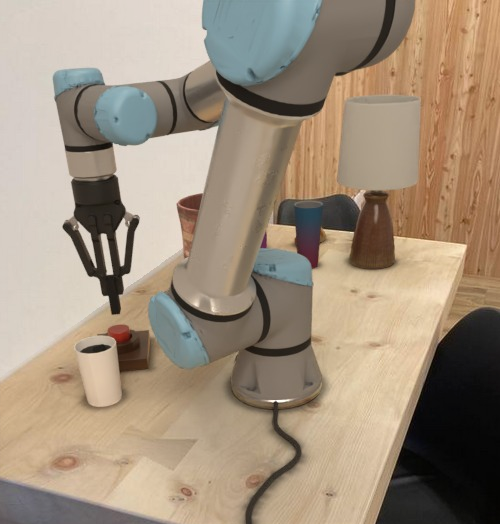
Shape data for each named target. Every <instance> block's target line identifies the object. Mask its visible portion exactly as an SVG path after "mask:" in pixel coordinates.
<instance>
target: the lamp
mask: <svg viewBox="0 0 500 524" xmlns="http://www.w3.org/2000/svg"><path fill="white" fill-rule="evenodd" d="M421 107H422V98H421V97H419V96H416V95H408V94H407V95H406V94H368V95H359V96H352V97H347V98H345V99H344V104H343V114H342V122H341V123H342V124H341V136H340V143H339V144H340V145H339V155H338V166H337V177H336V182H337V184H338V185H339V186H342V187H345V188H348V189H354V190H360V191H365V192H364V193H363V195H362V196H363V198H364V204H363V205H362V207H361V209H360V212H359V214H358V216H357V219H356V222H355V226H354V230H353V234H352V235H353V237H352V239H351V245H350V251H349V263H351V265H353V266H354V267H357V268H361V269H366V270H379V269H385V268H388V267H390V266H391V267H392V266H393V264H394V263H395V260H396V253H395V250H396V248H395V247H396V245H395V236H394V235H395V233H394V225H393V218H392V215H391V211H390V209H389V205H388V203H387V200H388V198H389V197H390V194H389V192H387V191H394V190H402V189H407V188H411V187H413V186H416V185H417V184H418V183H419V170H420V169H419V166H420V141H421V140H420V136H421V132H420V131H421Z"/></svg>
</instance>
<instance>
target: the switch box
mask: <svg viewBox="0 0 500 524" xmlns="http://www.w3.org/2000/svg"><path fill="white" fill-rule="evenodd" d="M100 335H102V336H108V331H107V332H105V333H97V335H96V336H100ZM130 335H131V339H129V340H127V341H124V342H118V343H116V346H117V355H118V363H119V372H124V371H125V372H127V371H137V370H140V371H141V370H149V363H150V352H151V351H150V350H151V333H150V330H149V329H146V330H134V329H130Z"/></svg>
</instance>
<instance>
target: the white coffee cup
mask: <svg viewBox="0 0 500 524" xmlns="http://www.w3.org/2000/svg"><path fill="white" fill-rule="evenodd" d="M73 350H74V354H75V358H76V361H77V366H78V370H79V373H80V377H81V381H82V385H83V390H84V393H85V397H86V402H87V403H88V405H90V406H92V407H97V408H105V407H110V406H113V405H115V404H117V403H119V402H120V401H121V400H122V398H123V391H122V382H121V373H120V372H121V371H119V363H118V355H117V346H116V341H115V339H114V338H112V337H109V336H102V335H100V336H97V335H92V336H87V337H84V338H82V339H80V340H78V341H77V342H76V343H75V344H74V346H73Z"/></svg>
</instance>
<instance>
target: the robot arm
mask: <svg viewBox="0 0 500 524" xmlns="http://www.w3.org/2000/svg"><path fill="white" fill-rule="evenodd" d="M201 7H202V8H201V28H202V29H203V30H205V31H206V35H205V37H204V39H203V43H204V47H205V51H206V54H207V56H208V59H209V60H208V61H206V62H204V63H203V64H201V65H199V66H198V67H196V68H195V69H193V70H192V71H190V72H188V73H186V74H185V75H182V76H181V77H178V78H171V79H163V80H154V81H145V82H136V83H125V84H124V83H123V84H112V85H111V84H110V85H108V84H106V82H105V79H104V76H103V73H102V71H101V70H100V69H99V68H97V67H76V68H65V69H59V70H56V71H55V72H54V73H53V75H52V84H53V93H54V96H53V99H54V102H55V104H56V111H57V115H58V119H59V120H58V121H59V125H60V130H61V135H62V141H63V145H64V153H65V158H66V164H67V168H68V169H67V170H68V175H69V176H70V177H72V179H71V181H70V185H71V190H72V196H73V202H74V209H73V215H72V216H71V217H70V218H69V219H65V220H64V222H63V224H62V226H61V227H62V230H63V231H64V232H65V233H66V234H67V235H68V236H69V237H70V239H71V241H72V243H73V246H74V248H75V250H76V252H77V255H78V257H79V259H80V261H81V263H82V266H83V268H84V271H85V272H86V275H87V276H88V277H89V278H96V279H98V281H99V286H100V292H101V295H102V296H103V297H108V302H109V309H110V313H111V316H114V315H115V316H116V315H121V311H122V306H121V299H120V296H123V295H124V293H125V286H124V280H123V276H125V275H129V274H130V273H131V270H132V263H133V253H134V242H135V232H136V230H137V228H138V226H139V224H140V219H141V217H140V216H139V215H138V214H132V213H131V212H129V211H128V210H127V208H126V206H125V205H124V203H123V202H122V197H121V191H120V182H119V177H118V176H117V175H116V172H117V170H118V169H117V163H116V156H115V150H114V149H115V148H114V145H119V146H121V147H127V146H140V145H143V144H145V143H146V142H147V141H148V140H149V139H155V138H161V137H165V136H170V135H176V134H181V133H188V132H195V131H199V132H200V131H207V130H210V129H212V128H216V127H217V131H216V135H215V140H214V144H213V147H212V148H213V149H212V153H211V157H210V162H209V165H208V170H207V174H206V178H205V184H204V187H203V192H202V193H203V196H202V200H201V205H200V209H199V213H198V218H197V222H196V226H195V231H194V235H193V239H192V244H191V248H190V253H189V257H187V258H185V259H184V258H183V259H182V260H180V261H179V262H178V263H177V264H176V266H175V267H174V269H173V271H172V276H171V281H170V286H169V288H168V289H167V290H165V291H158V292H157V293H155V294H154V295H153V296H151V297H150V299H149V301H148V305H147V314H148V320H149V325H150V328H151V331H152V334H153V336H154V338H155V340H156V342H157V344H158V345H159V347H160V349H161V350H162V352H163V353H164V355H165V356H166V357H167V358H168V360H169V361H170V362H171V363H172V364H174V365H175V366H176V367H178V368H180V369H183V370H186V371H190V370H195V369H197V368H200V367H206V366H209V365H211V364H212V363H214V362H217V361H219V360H221V359H224V358H226V357H228V356H231V355H233V354H235V353H237V354H236V355H235V359H234V362H233V363H234V364H233V365H234V366H233V369H232V373H231V377H230V383H231V391H232V393H233V395H234V396H235V397H236V399H238V400H239V401H240V402H242V403H244V404H246V405H248V406H251V407H255V408H259V409H266V410H273V412H272V413H273V415H272V425H273V428H274V429H275V431H276V432H277V433H278V434H279V436H281V437H282V438H284V439H285V440H287V441H288V442H289V443H291V444H292V445H293V446H294V448H295V451H296V453H295V456H294V457H293V459H291V460H290V461H289V462H287V464H285V465H283V466H282V467H281V468H279V469H278V470H276V471H274V472H273V473H272V474H270V476H269V477H268V478H267V479H265V481H264V482H263V483H262V485H261V486H260V487H259V488H258V490H257V491H256V492H255V493H254V495H253V496H252V497H251V499H250V501H249V503H248V505H247V508H246V511H245V524H253V522H252V515H253V514H252V512H253V509H254V507H255V505H256V504H257V501H258V500H259V499H260V497H261V496H262V495H263V493H264V492H265V491H266V490H267V489H268V488H269V486H270V485H271V484H272V482H274V481H275V480H276V479H277V478H278V477H279V476H281V475H282V474H284V473H285V472H287V471H289V470H290V469H292V468H293V467H294V466H295V465H296V464H297V463H298V462H299V460H300V458H301V456H302V448H301V447H302V446H301V445H300V443H299V442H298V441H297V440H296V439H295V438H294V437H292V436H290V435H289V434H288V433H286V432H285V431H284V430H282V428H281V427H280V426H279V424H278V418H279V410H283V409H292V408H295V407H299V406H303V405H305V404H307V403H309V402H311V401H313V400H314V399H315V398H316V397H317V396H319V394H320V393H321V390H322V385H323V377H322V376H323V375H322V372H321V369H320V368H321V367H320V366H319V362H318V359H317V357H316V354H315V351H314V348H313V345H312V330H313V327H312V326H313V293H314V292H313V291H314V281H313V268H312V267H311V263H310V262H309V260H308V259H307V258H306V257H304V256H302V255H300V254H298V253H297V252H294V251H291V250H286V249H280V248H271V247H270V248H269V247H266V248H260V247H261V244H262V241H263V238H264V235H265V232H266V230H267V229H268V226H269V223H270V220H271V217H272V215H273V214H272V213H273V211H274V208H275V204H276V202H277V199H278V196H279V193H280V190H281V187H282V184H283V181H284V179H285V175H286V173H287V171H288V170H287V169H288V166H289V164H290V160H291V157H292V154H293V151H294V149H295V145H296V143H297V140H298V137H299V134H300V131H301V128H302V125H303V122H304V121H306V120H310V119H312V118H314V117H316V116H318V115H319V114H320V113H321V112H322V110H323V109H324V106H325V103H326V100H327V97H328V94H329V92H330V90H331V87H332V83H333V81H334V78H335V77H342V76H345V75H348V74H350V73H352V72H354V71H357V70H362V69H366V68H370V67H373V66H375V65H378V64H380V63H381V62H383V61H385V60H386V59H388V58H389V57H390V56H391V55H392V54H393V53H394V52H395V51H396V50H397V49H398V48H399V47H400V46H401V44H402V42H403V41H404V40H405V38H406V37H407V34H408V32H409V29H410V27H411V25H412V22H413V18H414V15H415V10H416V0H202V6H201ZM123 219H124V220H125V222H124V225H125V227H127V230H126V231H127V232H126V239H125V248H124V249H125V250H124V259H123V260H124V262H123V265H122V264H121V260H120V259H121V258H120V252H119V245H118V240H117V230H118V228H119V226H120V225H121V223H122V222H123ZM79 224H80V225H81V227H83V229H85V230H86V232H87V233H89V234H90V239H91V242H92V248H93V254H94V259H95V260H94V261H95V263H94V261H93V259H92V256H91V255H90V253H89V250H88V248H87V245H86V243H85V241H84V239H83V237H82V234H81V231H80V230H79V228H80V225H79ZM102 234H103V235H106V240H107V244H108V245H107V246H108V251H109V257H110V263H111V268H112V274H107V273H108V270H107V265H106V259H105V254H104V252H105V251H104V248H103V247H104V246H103V240H102ZM95 265H96V266H95Z"/></svg>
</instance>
